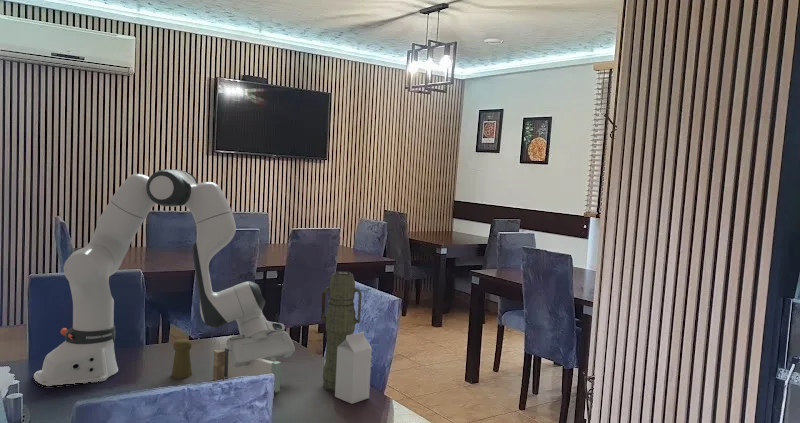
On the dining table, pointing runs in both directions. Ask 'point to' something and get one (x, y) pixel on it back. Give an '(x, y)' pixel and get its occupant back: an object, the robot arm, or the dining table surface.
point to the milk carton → (353, 369)
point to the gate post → (218, 364)
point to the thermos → (338, 320)
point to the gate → (253, 368)
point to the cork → (182, 359)
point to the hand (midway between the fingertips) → (271, 373)
